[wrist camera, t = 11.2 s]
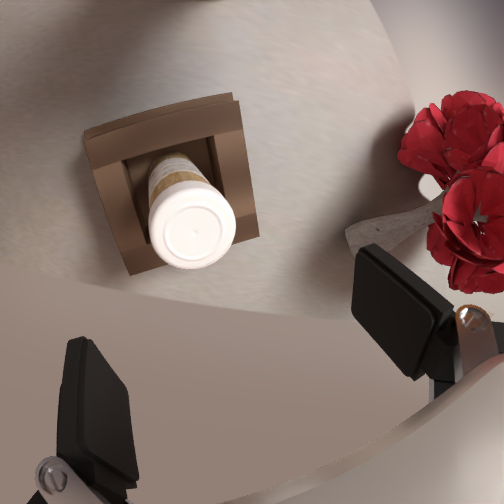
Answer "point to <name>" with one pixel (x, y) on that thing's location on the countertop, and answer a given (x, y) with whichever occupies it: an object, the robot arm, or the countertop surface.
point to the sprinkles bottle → (187, 214)
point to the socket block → (157, 143)
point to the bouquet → (453, 192)
